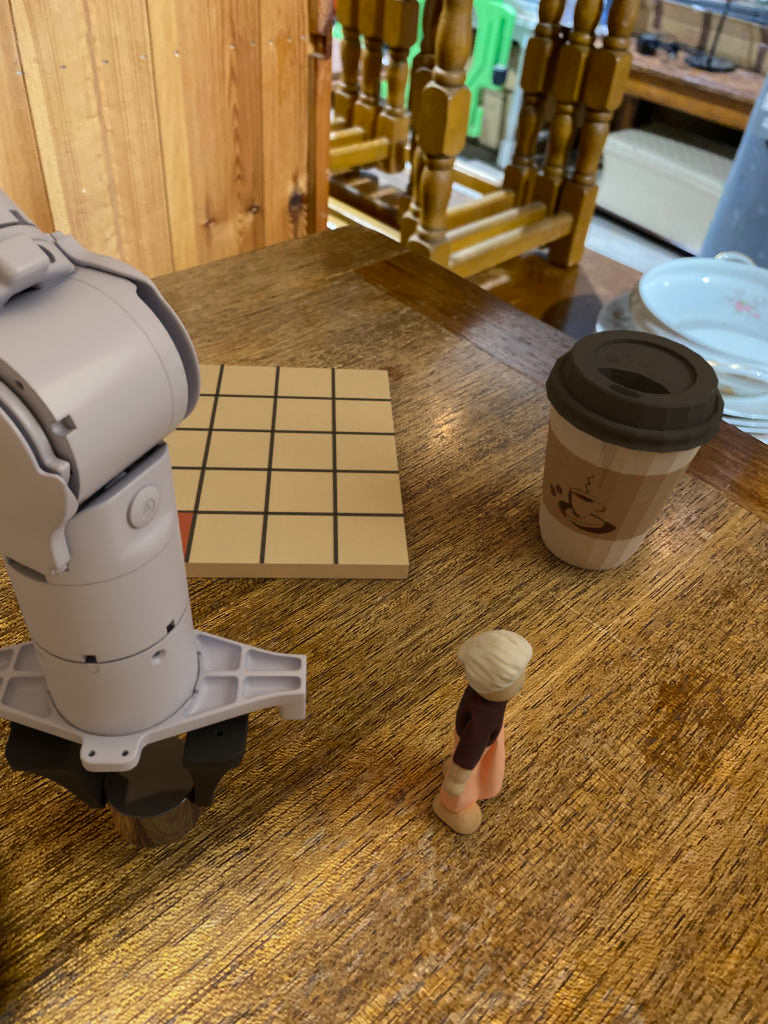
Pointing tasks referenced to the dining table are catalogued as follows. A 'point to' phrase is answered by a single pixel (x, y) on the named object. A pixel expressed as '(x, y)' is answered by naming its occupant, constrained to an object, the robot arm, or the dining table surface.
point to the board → (289, 475)
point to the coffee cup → (620, 441)
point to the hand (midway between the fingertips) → (154, 788)
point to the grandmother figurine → (481, 726)
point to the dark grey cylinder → (153, 796)
